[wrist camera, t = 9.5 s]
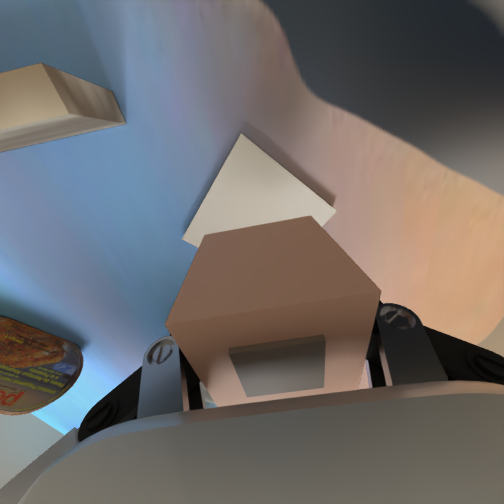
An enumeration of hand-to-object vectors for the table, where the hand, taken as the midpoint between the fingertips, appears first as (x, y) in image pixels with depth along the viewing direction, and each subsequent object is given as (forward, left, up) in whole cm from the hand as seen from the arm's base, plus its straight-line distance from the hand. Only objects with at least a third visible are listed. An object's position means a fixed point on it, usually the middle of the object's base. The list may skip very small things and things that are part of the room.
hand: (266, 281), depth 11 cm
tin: (-32, +16, -10) cm, 37 cm away
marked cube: (0, 0, -1) cm, 1 cm away
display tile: (0, 0, -10) cm, 10 cm away
